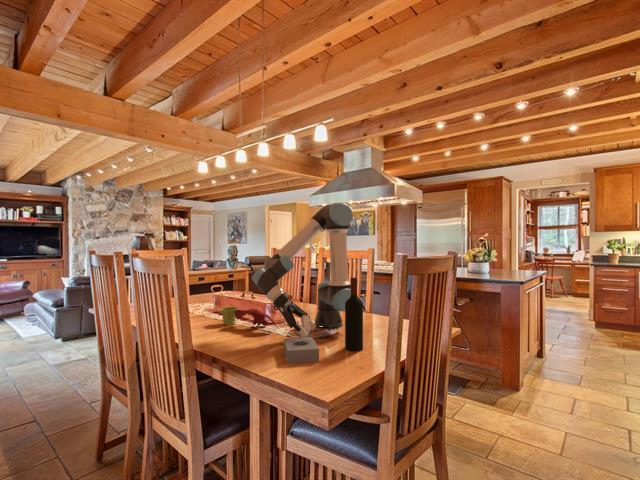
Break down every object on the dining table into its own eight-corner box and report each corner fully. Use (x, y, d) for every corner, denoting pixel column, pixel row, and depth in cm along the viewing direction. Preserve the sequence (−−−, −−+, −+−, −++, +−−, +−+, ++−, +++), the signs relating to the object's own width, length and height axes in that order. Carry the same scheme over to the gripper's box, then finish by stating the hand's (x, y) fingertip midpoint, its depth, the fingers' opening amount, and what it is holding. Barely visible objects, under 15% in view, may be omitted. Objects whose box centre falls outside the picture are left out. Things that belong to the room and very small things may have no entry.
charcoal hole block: (312, 348, 147) (312, 337, 147) (319, 362, 131) (319, 348, 131) (283, 350, 144) (283, 338, 144) (287, 364, 129) (287, 350, 129)
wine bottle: (341, 348, 147) (341, 278, 147) (352, 344, 152) (352, 276, 152) (355, 352, 142) (355, 279, 142) (366, 348, 147) (366, 277, 147)
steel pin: (309, 341, 158) (309, 315, 158) (310, 344, 154) (310, 316, 154) (300, 341, 157) (300, 315, 157) (301, 344, 153) (301, 317, 153)
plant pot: (218, 326, 185) (218, 310, 185) (223, 322, 194) (223, 306, 194) (235, 326, 185) (235, 310, 185) (239, 322, 194) (239, 306, 194)
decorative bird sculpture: (240, 331, 190) (225, 315, 182) (249, 318, 196) (236, 301, 187) (279, 340, 174) (265, 322, 165) (288, 325, 179) (275, 307, 171)
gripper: (282, 298, 171) (311, 330, 167) (261, 307, 147) (295, 345, 143) (292, 287, 170) (322, 320, 166) (273, 295, 146) (307, 333, 142)
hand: (310, 332), depth 155 cm, fingers open, 13 cm apart
